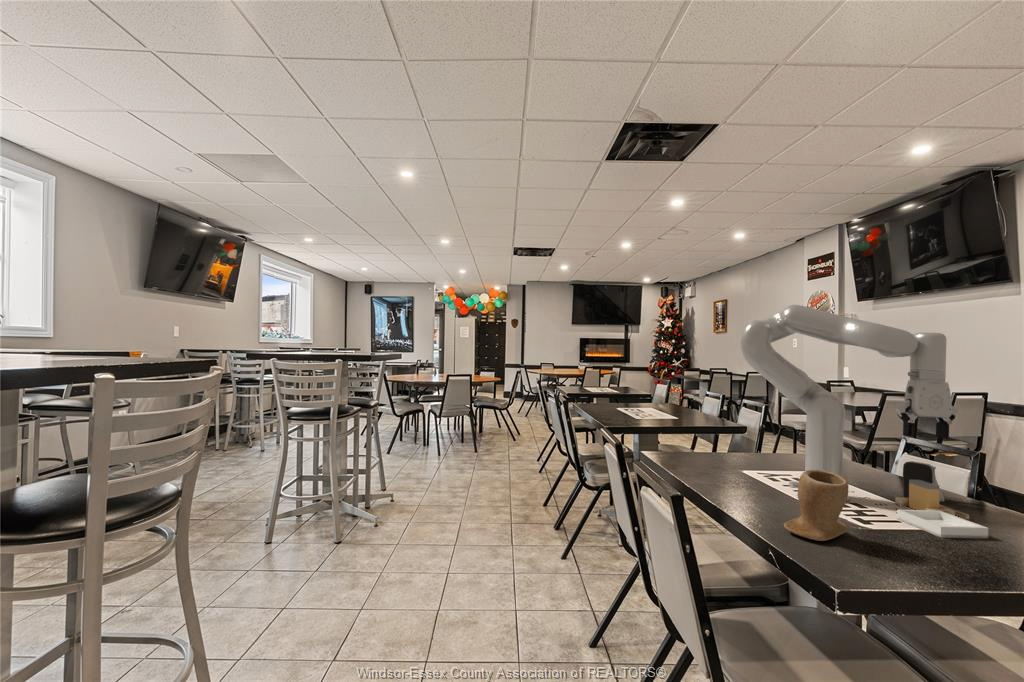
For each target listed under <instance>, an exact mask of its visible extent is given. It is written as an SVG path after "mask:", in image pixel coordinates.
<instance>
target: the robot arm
mask: <svg viewBox="0 0 1024 682" xmlns="http://www.w3.org/2000/svg"><path fill="white" fill-rule="evenodd" d="M793 334H798V335H799V334H800V335H804V336H807V337H810V338H815V339H818V340H822V341H825V342H829V343H834V344H837V345H844V346H845V345H846V346H847V345H848V346H856V347H860V348H864V349H869V350H872V351H875V352H878V353H879V354H880V355H881V356H884V357H886V358H905V357H910V360H909V371H908V372H907V376H908V377H909V380H908V381H907V384H906V387H905V391H904V392H905V394H904V401H903V402H900V403H898V404H896V405H895V406H894V409H895V411H896V413H897V416H898V417H899V418H900V421H901V422H902V436H904V437H908V438H915V437H916V423H915V420H916V419H918V417H921V418H935V419H936V421H938V422H936V425H935V427H936V428H935V436H936V437H937V438H940V439H945V440H947V439H949V438H950V425H952V424H953V421H954V420H955V419H956V415H957V414H958V411H959V409H958V408H957V407H955V406H954V405H952V394H951V388H950V384H949V382H946V374H947V372H946V370H947V369H946V368H947V367H946V366H947V336H946V334H944V333H941V332H916V333H911V332H909V331H907V330H905V329H901V328H896V327H894V326H890V325H889V326H888V325H884V324H880V323H876V322H872V321H867V320H861V319H858V318H854V317H850V316H845V315H841V314H837V313H832V312H827V311H824V310H820V309H816V308H812V307H808V306H804V305H800V304H792V305H791V304H790V305H788V306H786V307H785V308H784V309H782V310H781V311H779V312H776V313H774V314H771V315H769V316H767V317H765V318H763V319H759V320H758V319H755V320H752V321H750V322H747V324H746V325H745V326H744V328H743V330H742V334H741V340H740V347H741V352H742V355H743V358H744V359H745V361H746V362H747V363H748V365H749V366H750V367H751V368H752V369H754V370H755V371H756V372H757V373H758V374H759V375H760V376H761V377H763V378H764V379H765V380H767V381H768V382H769V383H770V384H771V385H772V386H774V388H776V389H777V391H778V393H780V394H781V395H783V396H784V397H785V398H787V399H788V400H789V401H790V402H791V403H792V404H794V405H795V406H796V407H798V408H799V409H800V410H802V411H803V412H804V413H805V414H806V420H805V421H806V422H805V436H804V437H805V449H804V450H805V451H804V452H805V456H804V460H805V461H804V462H805V464H804V472H805V471H807V470H810V469H811V470H814V469H815V470H824V471H828V472H832V473H834V474H837V475H839V476H841V477H842V478H843V479H844V476H843V475H844V429H845V428H844V427H845V420H846V408H845V404H844V403H843V400H842V399H841V398H840V397H839V396H838V395H836V394H835V393H832V392H830V391H828V390H826V389H825V388H824V387H823V386H821V385H820V384H819V383H817V382H816V381H814V379H812V378H811V377H810V376H809V375H808V374H807V373H806V372H805V371H803V369H800V368H798V367H796V365H794V364H792V363H791V362H790V361H789V360H787V359H786V358H785V357H784V356H782V355H781V354H780V353H779V352H777V351H776V350H775V348H774V347H773V346H772V343H773V342H774V343H775V342H777V341H779V340H782V339H784V338H786V337H790V336H791V335H793ZM798 484H799V481H792V480H790V481H789V483H788V485H789V488H790V489H798ZM849 500H850V496H849V495H848V497H847V500H846V502H849Z"/></svg>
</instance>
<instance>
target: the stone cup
mask: <svg viewBox="0 0 1024 682" xmlns="http://www.w3.org/2000/svg"><path fill="white" fill-rule="evenodd" d="M798 482H799V484H798V488H797V499H798V500H797V501H798V504H799V509H800V516H798V517H795V518H792V519H790V520H788V521H786V522H784V523H783V526H784V529H786V530H787V531H788V532H790V533H793V534H794V535H796V536H800V537H803V538H806V539H809V540H814V541H818V542H825V541H826V542H827V541H829V540H833V539H835V538H837V537H840V536H841V535H844V534H845V533H847V532H849V527H848V526H847V525H846V524H844V523H842V521H841V520H839V518H840V515H841V512H842V511H843V508H844V506H845V504H846V503H847V501H846V500H847V497H848V496H849V484H848V481H847V480H846V479H845V478H844V477H843V478H842V477H841V476H839V475H837V474H834V473H832V472H828V471H824V470H815V469H814V470H811V469H810V470H807V471H805V470H804V471H803V472H802V473H801V475H800V477H799V479H798Z"/></svg>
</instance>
